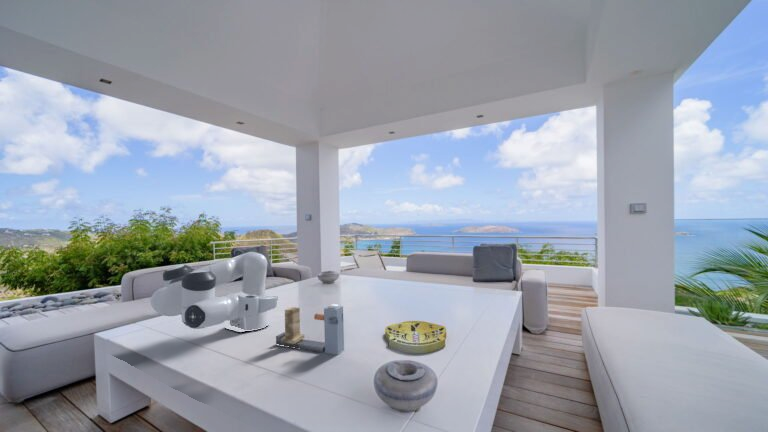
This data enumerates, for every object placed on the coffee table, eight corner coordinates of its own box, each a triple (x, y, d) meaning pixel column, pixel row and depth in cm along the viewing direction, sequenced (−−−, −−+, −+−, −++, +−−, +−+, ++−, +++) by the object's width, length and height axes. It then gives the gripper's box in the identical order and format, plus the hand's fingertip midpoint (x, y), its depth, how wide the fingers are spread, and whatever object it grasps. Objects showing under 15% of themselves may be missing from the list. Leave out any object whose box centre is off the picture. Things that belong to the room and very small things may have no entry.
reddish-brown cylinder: (314, 320, 123) (314, 314, 123) (317, 318, 125) (317, 312, 125) (325, 321, 121) (325, 315, 121) (328, 319, 123) (328, 313, 123)
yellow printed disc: (380, 345, 118) (387, 320, 148) (381, 353, 118) (387, 327, 148) (451, 346, 115) (443, 321, 145) (451, 354, 115) (443, 327, 145)
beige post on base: (280, 342, 126) (280, 310, 126) (291, 336, 132) (290, 306, 133) (294, 344, 123) (293, 311, 124) (304, 337, 130) (303, 307, 130)
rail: (276, 345, 128) (275, 336, 128) (283, 341, 133) (283, 332, 133) (322, 352, 119) (322, 342, 119) (329, 347, 124) (329, 338, 124)
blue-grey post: (325, 353, 119) (323, 306, 119) (331, 348, 124) (330, 303, 124) (337, 355, 117) (336, 307, 117) (344, 349, 121) (342, 304, 122)
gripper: (217, 311, 108) (248, 303, 120) (258, 317, 99) (287, 307, 112) (217, 294, 108) (248, 287, 121) (258, 298, 100) (287, 290, 112)
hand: (267, 297), depth 116 cm, fingers open, 8 cm apart
